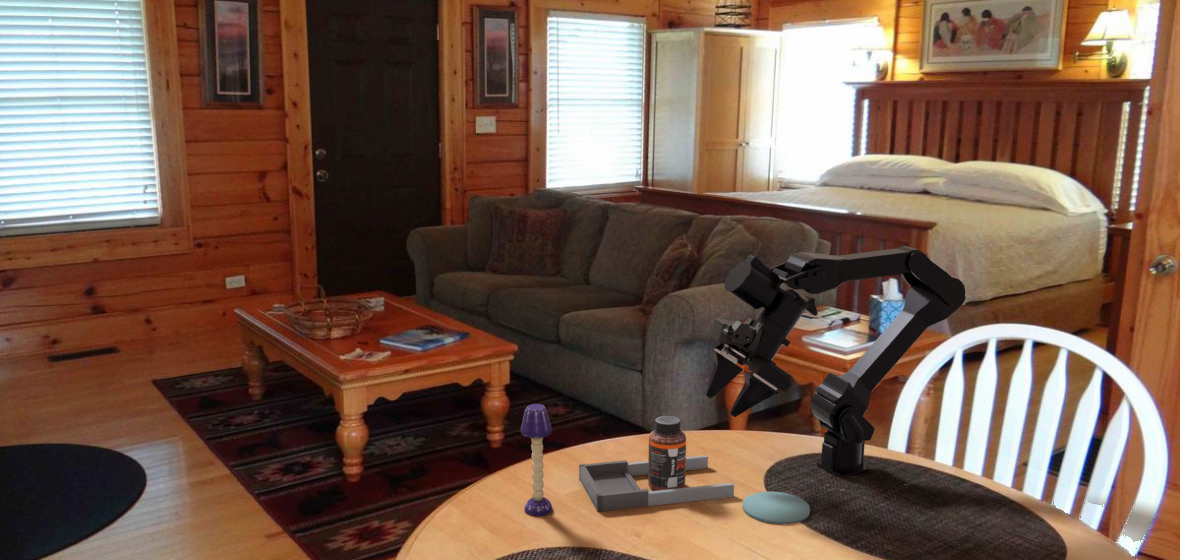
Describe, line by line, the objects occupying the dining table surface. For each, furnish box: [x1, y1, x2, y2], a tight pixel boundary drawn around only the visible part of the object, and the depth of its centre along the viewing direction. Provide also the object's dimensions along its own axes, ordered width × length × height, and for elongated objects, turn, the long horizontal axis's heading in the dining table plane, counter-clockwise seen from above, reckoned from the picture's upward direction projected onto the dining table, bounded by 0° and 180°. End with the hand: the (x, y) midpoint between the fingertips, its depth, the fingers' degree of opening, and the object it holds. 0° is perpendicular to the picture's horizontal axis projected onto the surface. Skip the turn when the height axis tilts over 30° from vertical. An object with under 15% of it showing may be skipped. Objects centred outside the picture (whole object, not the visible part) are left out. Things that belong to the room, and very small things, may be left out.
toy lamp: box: [520, 403, 553, 517], centre depth 143 cm, size 5×5×17 cm
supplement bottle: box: [647, 415, 687, 491], centre depth 152 cm, size 6×6×11 cm
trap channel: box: [578, 454, 735, 513], centre depth 152 cm, size 22×12×2 cm, turn 103°
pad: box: [742, 491, 811, 525], centre depth 145 cm, size 10×10×1 cm
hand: (719, 406), depth 151 cm, fingers open, 9 cm apart
